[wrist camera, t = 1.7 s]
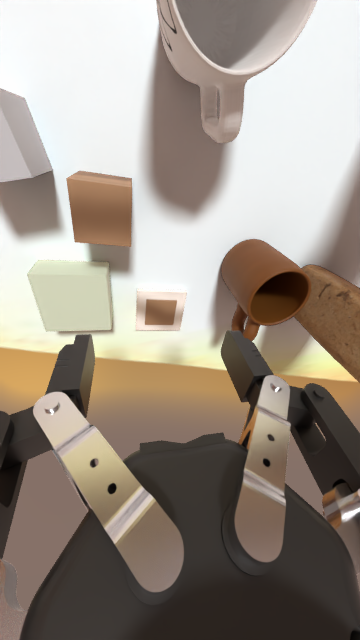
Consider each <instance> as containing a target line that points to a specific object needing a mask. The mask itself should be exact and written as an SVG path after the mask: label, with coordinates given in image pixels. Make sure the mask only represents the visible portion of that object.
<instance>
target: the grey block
mask: <svg viewBox="0 0 360 640" xmlns="http://www.w3.org/2000/svg"><path fill="white" fill-rule="evenodd" d="M52 170H53V169H52V166H51V164H50V161H49V159H48V156H47V154H46V151H45V149H44V146H43V143H42V141H41V138H40V136H39V133H38V131H37V128H36V126H35V123H34V121H33V118H32V115H31V113H30V110H29V108H28V105H27V103H26V100H25V98H23V97H20V96H18V95H16V94H13V93H11V92H8V91H6V90H3V89H1V88H0V182H6V181H13V180H20V179H26V178H32V177H35V176H38V175H41V174H43V173H46V172H49V171H52Z"/></svg>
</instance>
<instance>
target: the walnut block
mask: <svg viewBox="0 0 360 640" xmlns="http://www.w3.org/2000/svg"><path fill="white" fill-rule="evenodd" d="M67 186H68V193H69V201H70V208H71V216H72V224H73V231H74V239H75V242H80V243H92V244H104V245H117V246H129V247H131V212H132V178H125V177H119V176H112V175H105V174H98V173H92V172H85V171H78V172H77V173H75V174H73V175H71V176H70V177H68V178H67Z"/></svg>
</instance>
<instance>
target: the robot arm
mask: <svg viewBox="0 0 360 640" xmlns="http://www.w3.org/2000/svg"><path fill="white" fill-rule="evenodd" d="M221 356H222V359H223V362H224V364H225V366H226V368H227V371H228V373H229V375H230V377H231V380H232V382H233V384H234V387H235V389H236V391H237V393H238V396H239V398H240V400H241V402H249V404H250V407H249V409H248V412H247V416H246V420H245V423H244V427H243V430H242V434H241V437H240V439H239V442H238V443H236V442H234V441H231V440H228V439H225V437H224V434H223V433H216V434H208V435H203V436H201V437H199V438H196V439H194V440H192V441H190V442H187V443H184V444H183V443H182V444H181V443H175V442H168V441H156V442H148V443H140V450H139V451H136V452H134V453H133V454H131V455H129V456H128V457H127V458H126V459H124V460H123V461H122V460H121V459H120V458H119V456H118V455H117V454H116V453H115V451H114V450H113V449H112V447H111V446H110V445H109V444H108V442H107V441H106V440H105V439H104V437H103V436H102V435H101V433H100V432H99V431H98V429H97V428H95V426H93V425H90V424H89V423H88V422H87V421H86V419H85V418H86V417H87V411H88V404H89V398H90V391H91V385H92V377H93V371H94V365H95V353H94V347H93V341H92V335H91V334H89V335H76V337H75V341H74V344H71V345H65V346H64V347H63V349H62V350H61V351H60V352H59V355H58V358H57V362H56V364H55V368H54V370H53V373H52V376H51V379H50V382H49V385H48V388H47V391H46V394H45V395H44V396H43V397H42V398H40V399H39V400H38V401H37V402H36V404H35V405H34V406H32V407H30V408H28V409H26V410H23V411H20V412H17V413H15V414H11V415H8V414H7V413H5V412H3V411H0V640H360V591H359V586H358V581H357V576H356V574H359V573H360V433H359V432H358V430H357V429H356V428H355V426H354V425H353V424H352V422H351V421H350V419H349V418H348V417H347V415H346V414H345V413H344V411H343V410H342V409H341V407H340V406H339V405H338V403H337V402H336V401H335V399H334V398H333V397H332V395H331V394H330V393H329V392H328V391H327V390H326V389H325V388H323V387H321V386H320V385H317V384H313V383H312V384H311V383H310V384H307V385H306V386H305V388H304V389H302V388H297V387H292V386H289V385H288V384H287V383H286V381H284V380H283V379H281V378H280V377H277V376H275V375H274V374H273V373H272V371H271V370H270V368H269V367H268V365H267V363H266V362H265V360H264V359H263V357H261V354H260V352H259V351H258V349H257V348H256V346H255V344H254V343H253V342H251V341H250V340H249V339H248V338H244V336H243V335H242V333H241V331H239V330H237V331H227V332H226V335H225V338H224V341H223V344H222V347H221ZM315 423H317V425H318V426H319V428H320V429H321V431H322V433H323V434H324V436H325V438H326V441H325V439H324V438H323V436H322V434H321V433H320V431H319V429H318V428H317V426H316V424H315ZM290 431H291V433H292V435H293V437H294V439H295V441H296V443H297V445H298V447H299V449H300V451H301V453H302V455H303V457H304V459H305V461H306V463H307V465H308V467H309V469H310V471H311V473H312V475H313V477H314V479H315V480H316V482H317V485H318V487H319V488H320V490H321V492H322V494H323V499H322V506H323V510H324V511H323V516H324V517H323V516H322V515H321V514H320V513H318V512H317V511H316V510H315V509H314V508H313V507H312V506H311V505H309V504H308V503H307V502H306V501H305V500H304V499H303V498H301V497H300V496H299V495H298V494H297V493H296V492H295V491H294V490H292V489H291V488H290V487H289V486H288V485H287V484H286V483H285V477H286V466H287V457H288V446H289V436H290ZM49 450H52V452H53V453H54V455H55V456H56V458H57V460H58V461H59V463H60V465H61V466H62V468H63V470H64V471H65V473H66V475H67V476H68V478H69V480H70V482H71V483H72V485H73V487H74V489H75V491H76V492H77V494H78V496H79V497H80V499H81V501H82V502H83V504H84V506H85V507H86V509H87V511H88V513H87V514H86V516H85V517H84V519H83V520H82V522H81V524H80V525H79V527H78V528H77V530H76V532H75V533H74V534H73V536H72V538H71V539H70V541H69V542H68V544H67V545H66V547H65V549H64V550H63V552H62V553H61V555H60V556H59V558H58V559H57V561H56V562H55V564H54V566H53V567H52V569H51V570H50V572H49V573H48V575H47V576H46V578H45V579H44V581H43V583H42V584H41V586H40V587H39V589H38V591H37V593H36V594H35V596H34V598H33V600H32V602H31V604H30V607H29V609H28V610H24V609H22V608H21V606H20V605H19V603H18V601H17V596H16V587H17V573H16V570H15V568H14V566H13V565H12V564H10V563H9V562H6V561H4V560H2V558H3V554H4V550H5V546H6V542H7V538H8V534H9V531H10V526H11V523H12V519H13V515H14V511H15V507H16V503H17V500H18V496H19V492H20V488H21V484H22V480H23V476H24V472H25V468H26V465H27V461H28V459H31V458H33V457H35V456H37V455H40V454H42V453H44V452H46V451H49Z"/></svg>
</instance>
